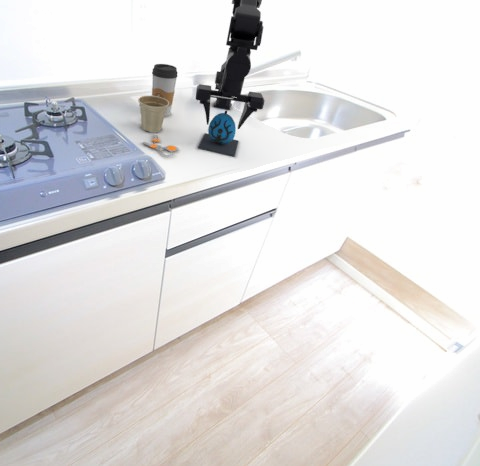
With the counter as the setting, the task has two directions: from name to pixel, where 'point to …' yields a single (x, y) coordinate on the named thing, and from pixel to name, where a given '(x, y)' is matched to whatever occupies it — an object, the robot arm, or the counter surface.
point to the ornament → (222, 128)
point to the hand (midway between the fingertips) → (222, 126)
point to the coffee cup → (164, 83)
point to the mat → (218, 146)
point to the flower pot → (152, 112)
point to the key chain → (169, 148)
